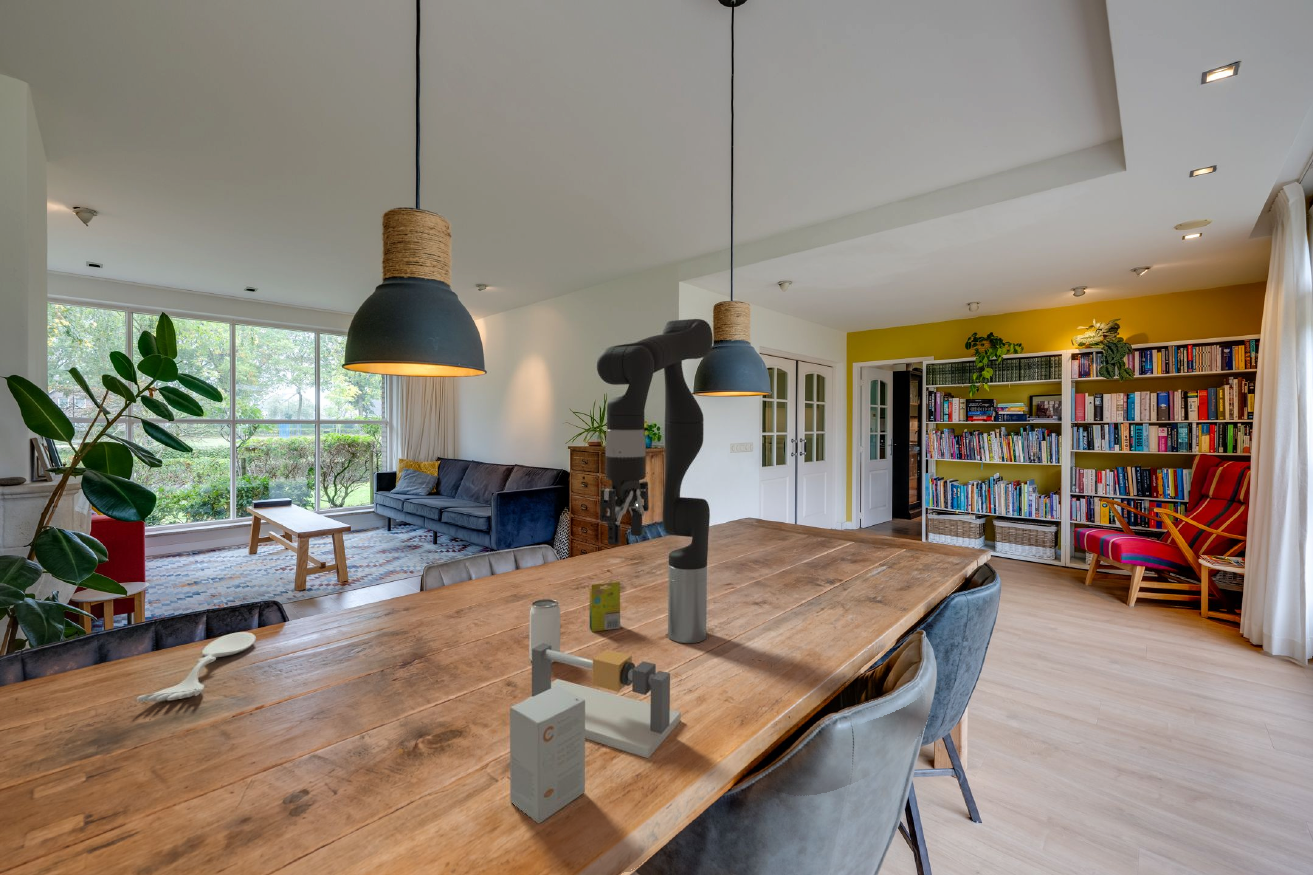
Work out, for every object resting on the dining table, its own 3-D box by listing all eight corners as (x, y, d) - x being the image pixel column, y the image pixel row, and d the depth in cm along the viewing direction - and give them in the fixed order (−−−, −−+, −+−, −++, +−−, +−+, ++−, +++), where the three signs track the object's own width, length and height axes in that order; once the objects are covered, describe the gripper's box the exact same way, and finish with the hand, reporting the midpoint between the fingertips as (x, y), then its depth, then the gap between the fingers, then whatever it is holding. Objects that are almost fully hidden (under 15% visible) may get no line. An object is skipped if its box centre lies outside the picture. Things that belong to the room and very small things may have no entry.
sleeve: (606, 674, 95) (606, 649, 95) (631, 680, 93) (631, 655, 93) (592, 684, 91) (592, 658, 91) (618, 691, 89) (618, 665, 89)
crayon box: (617, 624, 138) (618, 578, 138) (620, 628, 135) (621, 582, 135) (588, 627, 136) (589, 581, 135) (591, 632, 133) (591, 584, 133)
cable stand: (557, 686, 105) (557, 630, 105) (680, 720, 93) (681, 657, 93) (514, 715, 94) (515, 653, 94) (648, 758, 83) (649, 687, 82)
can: (553, 666, 114) (553, 609, 113) (524, 663, 115) (524, 606, 115) (564, 653, 120) (565, 599, 120) (537, 651, 121) (537, 597, 121)
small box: (556, 773, 79) (556, 684, 78) (586, 793, 75) (586, 698, 74) (508, 802, 73) (508, 705, 72) (538, 825, 68) (538, 723, 68)
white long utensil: (133, 717, 93) (133, 697, 93) (215, 645, 123) (215, 630, 123) (197, 708, 96) (197, 689, 96) (262, 640, 126) (262, 625, 126)
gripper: (624, 457, 94) (624, 550, 95) (660, 452, 107) (660, 534, 108) (587, 455, 97) (587, 545, 98) (626, 450, 110) (626, 530, 111)
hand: (625, 539), depth 103 cm, fingers open, 8 cm apart
